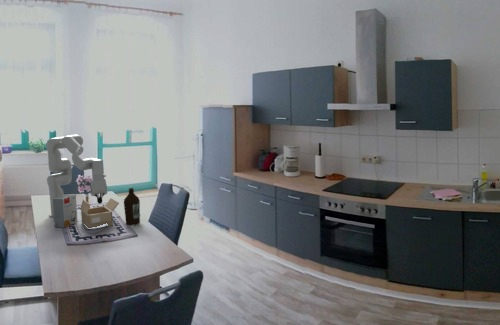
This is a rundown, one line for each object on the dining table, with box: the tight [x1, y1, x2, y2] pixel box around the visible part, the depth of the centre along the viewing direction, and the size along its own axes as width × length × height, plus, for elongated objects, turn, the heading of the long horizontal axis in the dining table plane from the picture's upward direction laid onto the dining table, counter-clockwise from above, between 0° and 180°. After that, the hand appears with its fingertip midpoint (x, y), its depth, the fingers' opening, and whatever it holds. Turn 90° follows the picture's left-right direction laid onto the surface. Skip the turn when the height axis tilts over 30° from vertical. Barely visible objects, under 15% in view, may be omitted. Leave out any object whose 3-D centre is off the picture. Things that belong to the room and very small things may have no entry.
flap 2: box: [104, 198, 120, 212], centre depth 284 cm, size 17×7×1 cm
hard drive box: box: [53, 193, 78, 228], centre depth 280 cm, size 16×8×20 cm, turn 168°
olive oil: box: [123, 187, 141, 226], centre depth 280 cm, size 11×11×25 cm
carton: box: [80, 205, 114, 228], centre depth 279 cm, size 19×16×10 cm
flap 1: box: [79, 199, 91, 215], centre depth 274 cm, size 17×7×1 cm
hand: (99, 203), depth 279 cm, fingers closed
